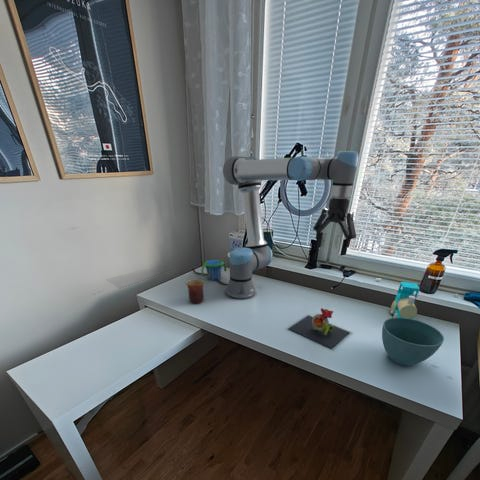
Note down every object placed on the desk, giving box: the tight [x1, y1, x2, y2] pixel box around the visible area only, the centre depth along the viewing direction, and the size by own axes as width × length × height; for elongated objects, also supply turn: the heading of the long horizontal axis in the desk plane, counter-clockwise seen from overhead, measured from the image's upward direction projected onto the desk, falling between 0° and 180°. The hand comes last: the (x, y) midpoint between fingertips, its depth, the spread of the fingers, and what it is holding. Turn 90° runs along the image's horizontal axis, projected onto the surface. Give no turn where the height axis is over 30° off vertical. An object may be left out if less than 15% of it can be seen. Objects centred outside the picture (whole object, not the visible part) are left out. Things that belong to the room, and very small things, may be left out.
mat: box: [288, 315, 350, 350], centre depth 113 cm, size 20×16×1 cm
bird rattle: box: [312, 307, 335, 335], centre depth 110 cm, size 6×11×9 cm
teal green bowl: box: [381, 317, 445, 366], centre depth 95 cm, size 18×18×12 cm
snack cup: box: [200, 259, 227, 281], centre depth 160 cm, size 16×10×10 cm
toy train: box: [390, 281, 420, 320], centre depth 119 cm, size 8×17×15 cm, turn 160°
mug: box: [185, 278, 205, 305], centre depth 135 cm, size 12×9×10 cm
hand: (329, 251), depth 116 cm, fingers open, 13 cm apart
